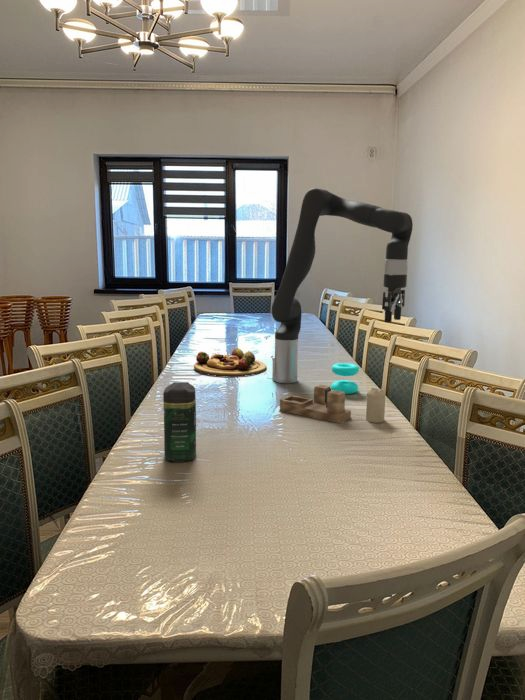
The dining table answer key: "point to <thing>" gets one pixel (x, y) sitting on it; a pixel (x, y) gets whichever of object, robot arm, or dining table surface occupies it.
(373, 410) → the candle
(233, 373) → the wooden plate with food
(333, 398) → the rail
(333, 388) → the donuts
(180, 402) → the coffee jar
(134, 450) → the dining table surface
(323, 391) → the brown wooden block
